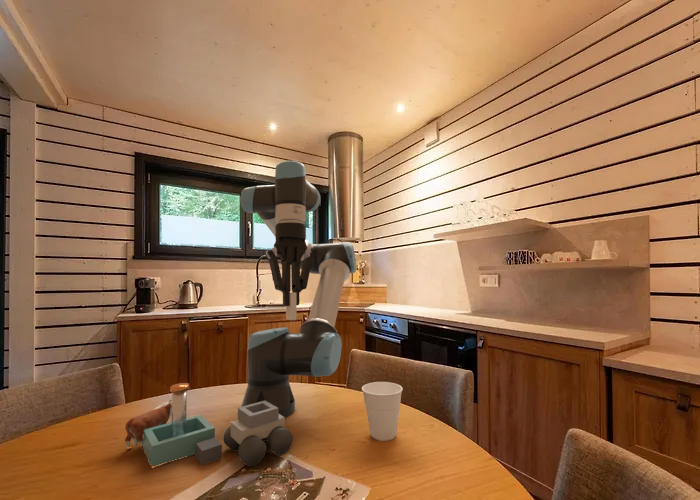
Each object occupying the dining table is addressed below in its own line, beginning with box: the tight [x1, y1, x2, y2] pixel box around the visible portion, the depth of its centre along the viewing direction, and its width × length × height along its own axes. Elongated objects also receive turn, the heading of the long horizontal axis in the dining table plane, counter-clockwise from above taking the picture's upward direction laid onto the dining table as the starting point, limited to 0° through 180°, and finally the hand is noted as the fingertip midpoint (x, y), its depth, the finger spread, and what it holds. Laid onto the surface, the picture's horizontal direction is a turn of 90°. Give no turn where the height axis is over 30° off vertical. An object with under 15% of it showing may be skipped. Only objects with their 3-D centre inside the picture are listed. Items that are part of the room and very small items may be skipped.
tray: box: [142, 414, 216, 468], centre depth 75 cm, size 10×12×4 cm
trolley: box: [223, 401, 294, 467], centre depth 73 cm, size 11×11×9 cm
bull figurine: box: [124, 399, 172, 448], centre depth 79 cm, size 4×13×8 cm, turn 153°
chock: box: [194, 436, 223, 466], centre depth 70 cm, size 4×4×3 cm
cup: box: [361, 381, 404, 442], centre depth 79 cm, size 10×10×11 cm
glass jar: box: [169, 382, 190, 438], centre depth 75 cm, size 4×4×13 cm
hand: (291, 319), depth 80 cm, fingers closed
